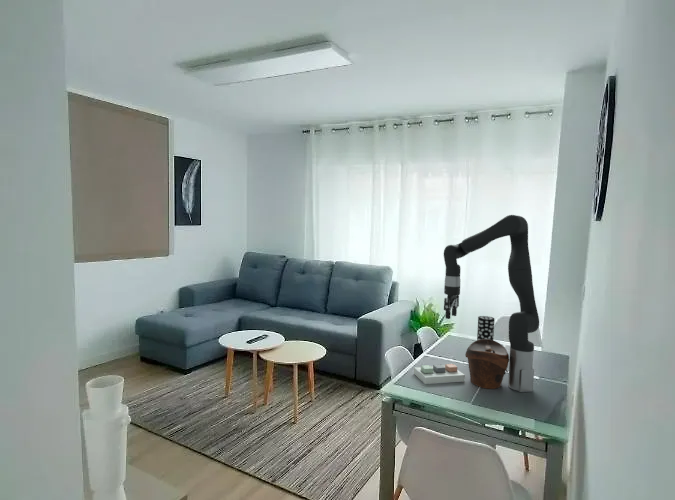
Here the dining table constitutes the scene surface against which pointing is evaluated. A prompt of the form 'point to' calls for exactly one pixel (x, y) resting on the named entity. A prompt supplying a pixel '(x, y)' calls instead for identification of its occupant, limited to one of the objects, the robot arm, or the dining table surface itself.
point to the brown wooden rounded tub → (487, 363)
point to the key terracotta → (450, 367)
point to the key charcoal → (438, 368)
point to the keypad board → (439, 376)
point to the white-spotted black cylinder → (485, 328)
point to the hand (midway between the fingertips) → (451, 317)
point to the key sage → (427, 369)
